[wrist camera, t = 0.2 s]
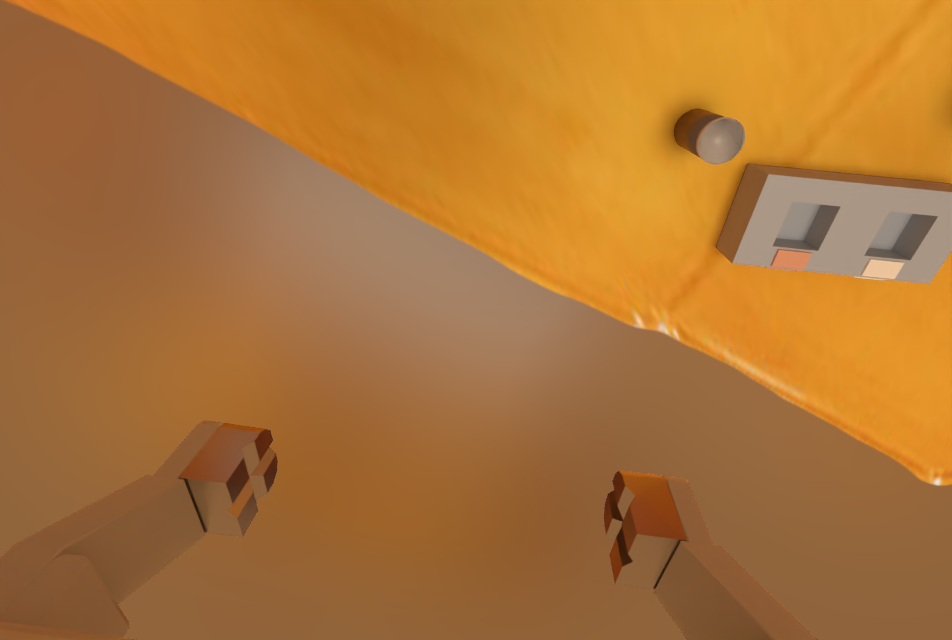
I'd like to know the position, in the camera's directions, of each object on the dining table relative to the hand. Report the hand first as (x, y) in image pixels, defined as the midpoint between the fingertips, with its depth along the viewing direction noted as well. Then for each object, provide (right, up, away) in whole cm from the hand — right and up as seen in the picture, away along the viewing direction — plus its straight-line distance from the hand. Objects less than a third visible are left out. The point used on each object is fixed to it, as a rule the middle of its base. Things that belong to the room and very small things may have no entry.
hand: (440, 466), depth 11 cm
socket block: (+42, +16, +42) cm, 61 cm away
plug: (+25, +24, +38) cm, 52 cm away
